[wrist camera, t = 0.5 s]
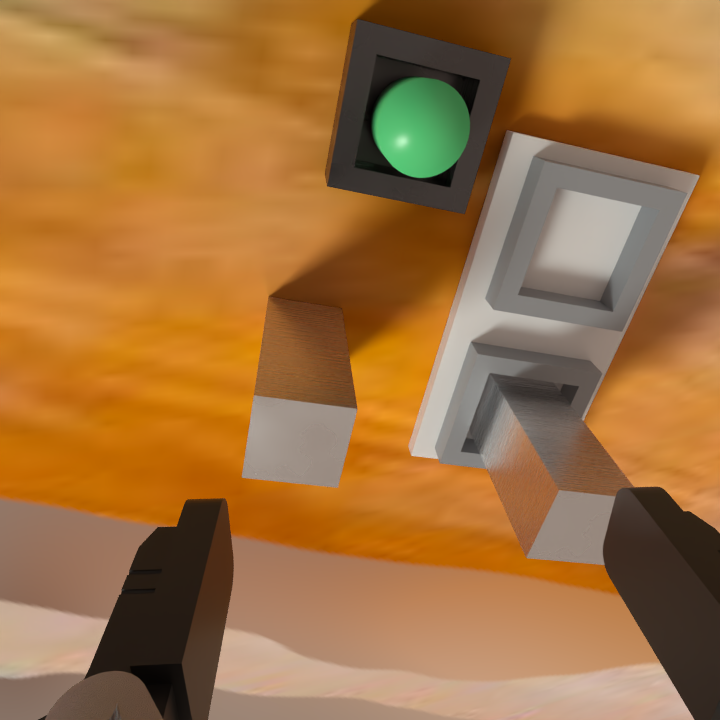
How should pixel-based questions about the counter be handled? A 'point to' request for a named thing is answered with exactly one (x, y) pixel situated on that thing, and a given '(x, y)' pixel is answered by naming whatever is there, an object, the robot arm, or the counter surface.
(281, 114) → the counter surface
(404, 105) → the button
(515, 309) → the grey socket board
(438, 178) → the button housing
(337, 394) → the block
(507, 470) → the block
